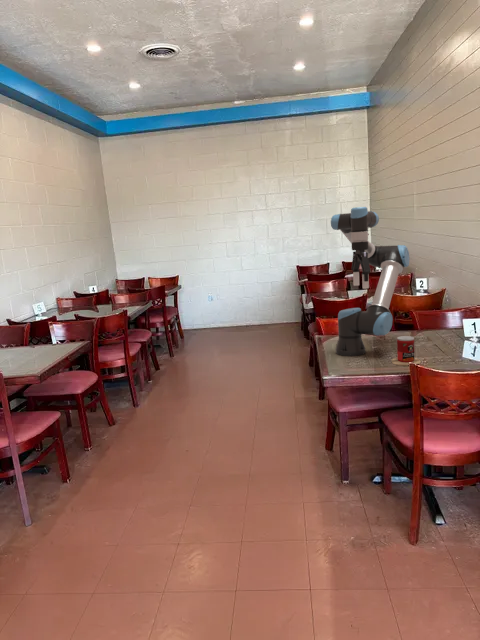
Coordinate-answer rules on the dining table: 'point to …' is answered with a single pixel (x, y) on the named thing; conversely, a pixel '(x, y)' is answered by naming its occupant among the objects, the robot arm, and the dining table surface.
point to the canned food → (405, 349)
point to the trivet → (396, 362)
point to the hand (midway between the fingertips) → (360, 287)
